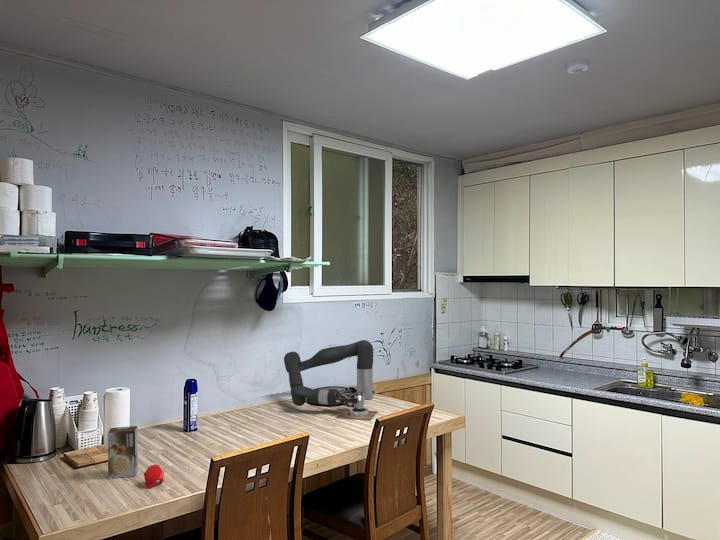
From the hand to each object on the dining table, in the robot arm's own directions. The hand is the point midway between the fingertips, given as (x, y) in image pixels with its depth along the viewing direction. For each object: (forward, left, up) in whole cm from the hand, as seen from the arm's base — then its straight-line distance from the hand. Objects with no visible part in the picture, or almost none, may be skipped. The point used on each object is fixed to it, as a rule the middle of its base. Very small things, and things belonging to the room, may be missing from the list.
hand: (359, 398), depth 253 cm
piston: (0, 0, -8) cm, 8 cm away
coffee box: (+93, -62, -9) cm, 112 cm away
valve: (-20, -7, -9) cm, 23 cm away
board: (0, -1, -9) cm, 9 cm away
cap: (+98, -46, -9) cm, 109 cm away
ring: (0, 0, -8) cm, 8 cm away
